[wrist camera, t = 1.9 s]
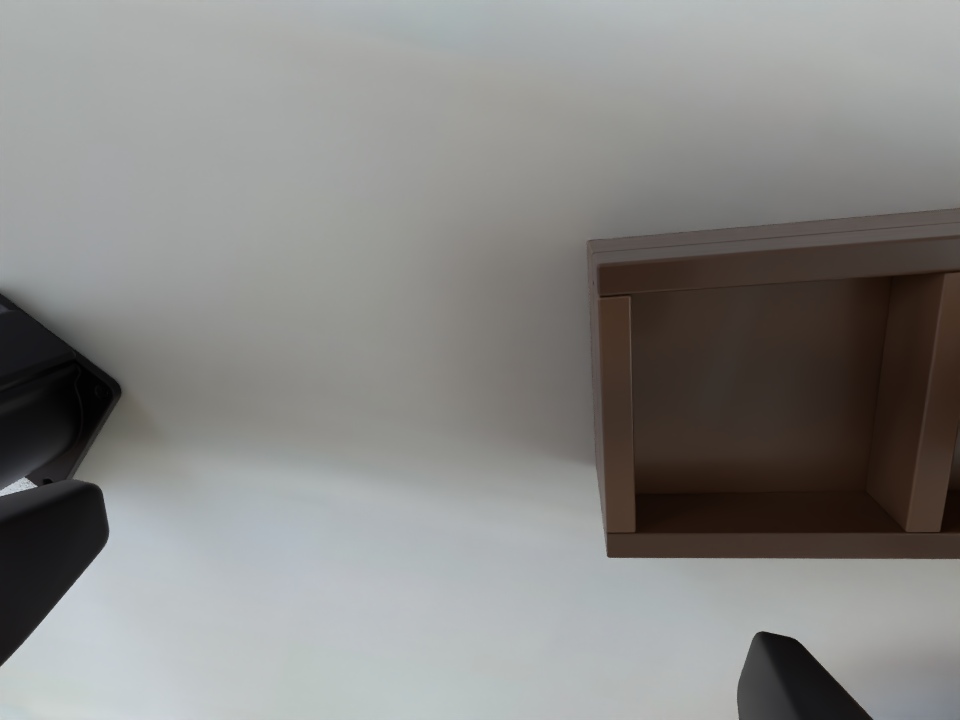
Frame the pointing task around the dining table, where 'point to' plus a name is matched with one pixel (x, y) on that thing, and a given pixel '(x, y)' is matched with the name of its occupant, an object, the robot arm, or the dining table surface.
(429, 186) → the dining table surface
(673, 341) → the dark brown wooden tray
